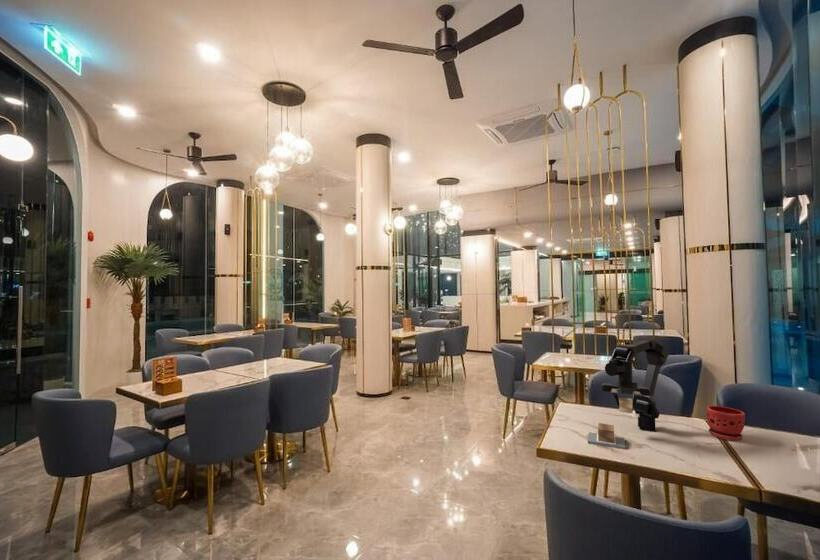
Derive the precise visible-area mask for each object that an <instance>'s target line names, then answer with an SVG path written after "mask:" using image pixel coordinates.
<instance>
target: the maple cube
mask: <svg viewBox="0 0 820 560" xmlns="http://www.w3.org/2000/svg"><path fill="white" fill-rule="evenodd" d="M618 398H619V407H618V409H619V412H621V413H628V414H634V413H633V410H634V409H632V400H633V398H630V397H629V398H626V397H618Z"/></svg>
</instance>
